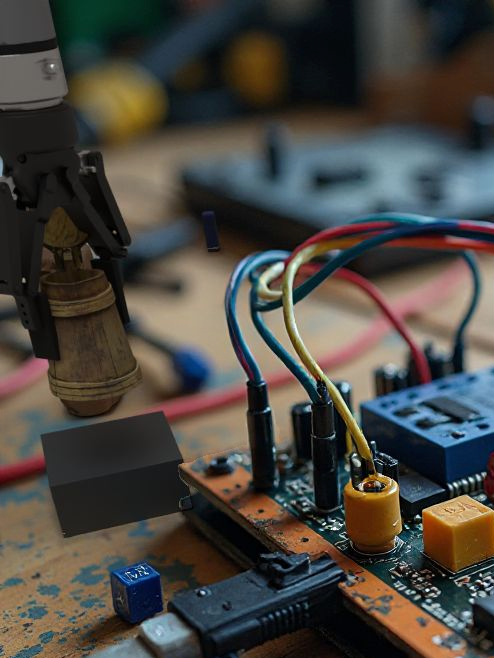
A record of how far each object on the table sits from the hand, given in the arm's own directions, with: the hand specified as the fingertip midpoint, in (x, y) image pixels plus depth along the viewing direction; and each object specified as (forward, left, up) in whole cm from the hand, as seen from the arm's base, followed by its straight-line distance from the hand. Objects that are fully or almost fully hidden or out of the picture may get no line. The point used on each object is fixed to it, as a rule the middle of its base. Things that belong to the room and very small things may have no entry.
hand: (84, 339), depth 107 cm
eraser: (-42, +80, -18) cm, 92 cm away
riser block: (0, 0, -18) cm, 18 cm away
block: (-19, +19, -18) cm, 32 cm away
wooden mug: (0, 0, -4) cm, 4 cm away
